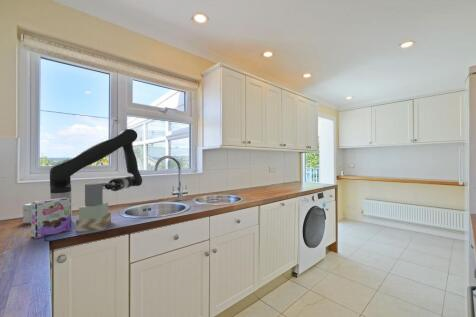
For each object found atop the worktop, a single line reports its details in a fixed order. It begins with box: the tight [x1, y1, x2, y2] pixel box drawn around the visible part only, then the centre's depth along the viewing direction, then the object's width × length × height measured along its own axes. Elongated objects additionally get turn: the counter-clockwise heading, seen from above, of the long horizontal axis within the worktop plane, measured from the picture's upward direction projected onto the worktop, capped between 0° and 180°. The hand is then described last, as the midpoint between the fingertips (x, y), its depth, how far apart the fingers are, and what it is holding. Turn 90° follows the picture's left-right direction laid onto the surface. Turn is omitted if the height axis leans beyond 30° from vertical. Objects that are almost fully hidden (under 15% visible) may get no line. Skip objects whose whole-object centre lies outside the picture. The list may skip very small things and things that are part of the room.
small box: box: [22, 202, 31, 224], centre depth 126 cm, size 8×6×10 cm
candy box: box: [30, 197, 72, 239], centre depth 106 cm, size 14×6×16 cm, turn 148°
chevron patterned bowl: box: [75, 212, 112, 233], centre depth 116 cm, size 12×12×6 cm
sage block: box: [78, 201, 109, 220], centre depth 115 cm, size 10×10×6 cm
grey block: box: [84, 182, 104, 206], centre depth 116 cm, size 6×6×11 cm
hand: (100, 187), depth 120 cm, fingers open, 8 cm apart
